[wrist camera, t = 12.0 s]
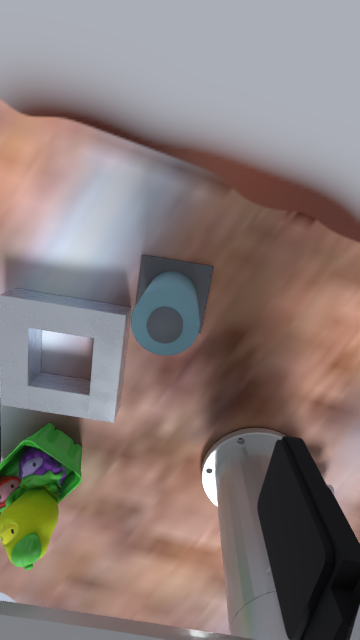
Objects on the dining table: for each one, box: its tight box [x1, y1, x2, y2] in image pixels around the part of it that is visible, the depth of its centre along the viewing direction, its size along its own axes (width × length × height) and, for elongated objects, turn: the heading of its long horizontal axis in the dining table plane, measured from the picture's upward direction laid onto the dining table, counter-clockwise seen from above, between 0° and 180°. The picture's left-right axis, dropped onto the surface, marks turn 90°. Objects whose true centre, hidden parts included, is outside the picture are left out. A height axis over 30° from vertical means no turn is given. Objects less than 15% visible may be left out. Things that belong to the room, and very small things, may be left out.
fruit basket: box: [0, 423, 82, 570], centre depth 33 cm, size 11×9×11 cm
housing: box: [0, 289, 132, 423], centre depth 32 cm, size 12×12×3 cm
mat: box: [136, 255, 213, 334], centre depth 31 cm, size 7×7×1 cm
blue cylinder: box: [131, 271, 200, 355], centre depth 26 cm, size 5×5×10 cm
